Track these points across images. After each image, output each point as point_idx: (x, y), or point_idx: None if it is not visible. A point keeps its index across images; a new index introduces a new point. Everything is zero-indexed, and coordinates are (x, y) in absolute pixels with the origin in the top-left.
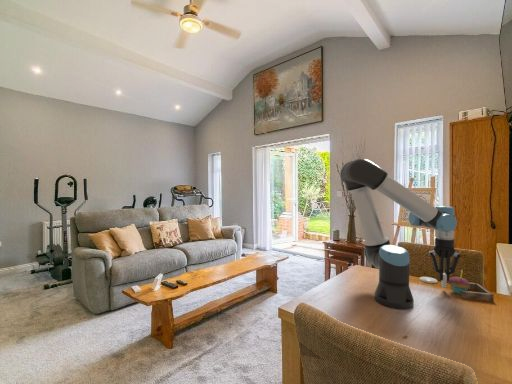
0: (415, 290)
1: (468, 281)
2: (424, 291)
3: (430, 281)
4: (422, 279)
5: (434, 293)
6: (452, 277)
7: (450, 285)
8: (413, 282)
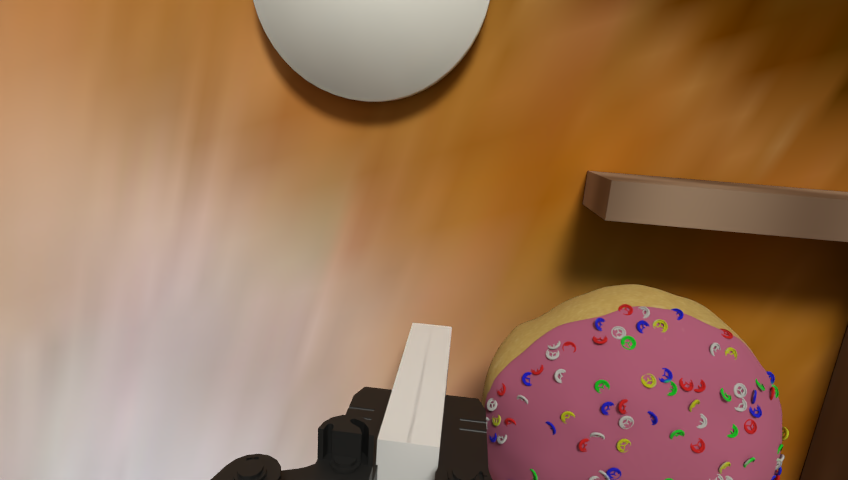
0: (136, 392)
1: (773, 477)
2: (218, 401)
3: (364, 82)
4: (274, 13)
5: (302, 436)
6: (561, 432)
7: (591, 173)
8: (155, 122)
